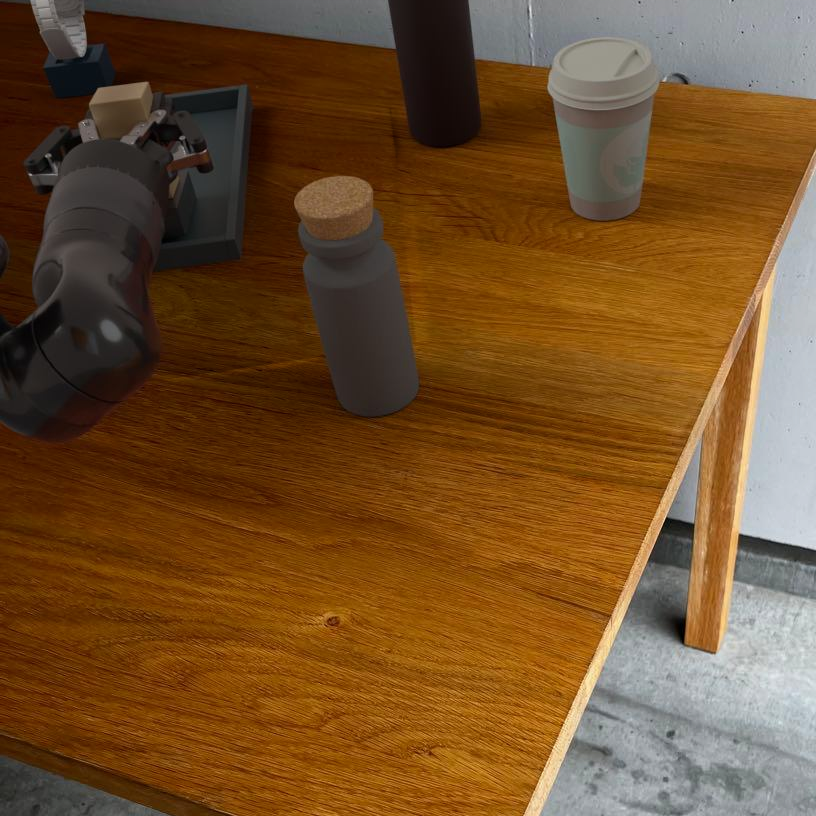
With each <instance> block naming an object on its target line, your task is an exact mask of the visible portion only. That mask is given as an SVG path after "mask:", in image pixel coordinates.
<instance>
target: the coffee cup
mask: <svg viewBox="0 0 816 816" xmlns="http://www.w3.org/2000/svg"><path fill="white" fill-rule="evenodd" d="M551 66H552V67H551V69H550V72H549V74H548V82H547V92H548V93H549V95H550V96H551V98H552V102H553V108H554V114H555V120H556V121H555V122H556V126H557V132H558V138H559V146H560V150H561V151H560V152H561V156H562V161H563V169H564V173H565V174H564V175H565V180H566V186H567V191H568V197H569V202H570V207H571V209H572V210H573V212H574V213H576V214H577V215H578V216H580V217H582V218H585V219H588V220H591V221H598V222H599V221H600V222H602V221H603V222H606V221H609V222H610V221H615V220H619V219H622V218H625V217H628V216H630V215H631V214H633V213H634V212H635V211H636V210H637V209H638V208H639V206H640V205H641V204H640V203H641V198H642V191H643V183H644V177H645V168H646V161H647V155H648V154H647V153H648V144H649V138H650V129H651V121H652V115H653V108H654V107H653V106H654V101H655V100H654V99H655V93H656V92H657V90H658V89H659V86H660V77H659V70H658V67H657V66H656V64H655V60H654V57H653V53H652V51H651V50H650V49H649V48H648V47H647V46H646V45H645V44H643V43H641V42H639V41H636V40H633V39H628V38H623V37H613V36H611V37H610V36H605V37H603V36H602V37H591V38H586V39H582V40H578V41H575V42H573V43H570V44H568V45H566V46H564V47H563V48H561V49H560V50H559V51H558V52H557V53H556V54H555V56H554V58H553V61H552V65H551Z"/></svg>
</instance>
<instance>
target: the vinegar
mask: <svg viewBox="0 0 816 816" xmlns="http://www.w3.org/2000/svg"><path fill="white" fill-rule="evenodd" d="M387 3H388V9H389V15H390V21H391V27H392V34H393V40H394V46H395V52H396V59H397V65H398V71H399V76H400V83H401V90H402V95H403V103H404V108H405V115H406V121H407V126H408V132H409V134H410V136H411V138H412V139H413V140H415V141H416V142H417V143H420V144H421V145H425V146H428V147H436V148H437V147H438V148H445V147H452V146H453V147H454V146H457V145H462V144H464V143H465V142H466V143H467V142H468V141H470V140H472V139H473V138H474V137H476V136H477V135H478V133H479V132H480V130H481V129H482V113H481V112H482V111H481V102H480V94H479V85H478V84H479V83H478V77H477V76H478V74H477V65H476V55H475V47H474V39H473V29H472V20H471V11H470V10H471V9H470V2H469V0H387Z"/></svg>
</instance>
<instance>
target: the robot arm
mask: <svg viewBox="0 0 816 816" xmlns="http://www.w3.org/2000/svg"><path fill="white" fill-rule="evenodd" d="M152 94H153V100H152V105H151V109H150V113H151V114H150V115H149V117H148V118H147V119H146V120H140V121H138V122H137V123H136V125H135V126H134V127H133V129H132V130H131V131H130V133H129V134H128V135H124V136H123V137H122V138H107V139H101V138H100V135H99V132H98V130H97V127H96V124H95V121H94V118H93V115H92V113H91V110H90V107H89V108H88V109H87V110H86V114H85V118H84V119H83V120H81V121H79V122H78V123H77V126H78V128H75V129H72V130H71V128H70V127H71V126H68V125H61V126H58V127H56V128H54V129H53V130H52V131H51V133H50V134H48V136H47V137H46V138H45V139H44V140H43V141H42V142H41V143H40V144H39V145H38V146H37V147H36V148H35V149H34V150H33V152H31V153H30V154H29V156H28V157H26V158H25V160H24V161H23V162H22V163H23V166H24V168H25V170H26V172H27V176H28V177H29V180H30V182H31V183H32V185H33V187H34V190H35V191H36V194H37V195H39V196H44V195H45V196H46V195H48V194H50V198H49V201H48V204H47V207H46V210H45V214H44V219H43V226H42V227H43V233H42V234H43V235H42V238H41V240H40V244H39V247H38V251H37V254H36V257H35V261H34V265H33V269H32V276H31V288H32V289H31V291H32V294H33V298H34V302H35V304H36V306H37V308H36V309H35V310H34V311H32V312H31V313H30V315H28V316H27V317H26V318H25V319H24V320H23V321H21V323H19V325H17V326H14V325H13V324H12V323H11V322H10V321H8V319H7V318H6V317H5V316H4V315H3V314H2V312H1V311H0V423H1V424H2V425H3V426H5V427H6V428H8V429H9V430H12V431H13V432H15V433H17V434H18V435H20V436H22V437H26V438H29V439H31V440H35V441H38V442H43V443H50V444H64V443H70V442H73V441H75V440H76V439H78V438H80V437H82V436H83V435H85V434H86V433H88V432H89V431H90V430H91V429H92V428H94V427H95V426H96V425H97V424H99V423H100V422H101V421H102V420H103V419H105V418H106V417H107V416H108V415H110V414H111V413H112V412H113V411H115V410H116V409H117V408H118V407H120V406H121V405H123V403H125V402H126V401H127V400H128V399H130V398H131V397H132V396H134V394H135V395H136V393H138V392H139V391H140V390H141V389H142V388H143V387H144V386H145V385H146V384H147V383H148V382H149V381H150V380H151V378H152V377H153V376H154V374H155V372H156V370H157V368H158V365H159V363H160V361H161V359H162V358H161V357H162V354H163V349H164V346H163V345H164V342H163V337H162V334H161V330H160V327H159V324H158V321H157V317H156V314H155V310H154V306H153V303H152V300H151V297H150V287H151V283H152V282H151V281H152V276H153V272H154V271H153V268H154V265H155V263H156V261H157V259H158V256H159V252H160V248H161V242H162V238H163V236H164V233H165V225H164V224H165V219H166V213H167V207H168V201H169V185H170V184H171V183H172V182H173V181H174V180H175V179H176V178H177V175H178V170H181V169H185V168H188V167H189V168H194V167H196V169H197V170H198V172H199V173H209V172H211V171H212V170H213V169H214V167H213V164H212V161H211V158H210V154H209V151H208V148H207V145H206V142H205V139H204V137H203V135H202V133H201V132H200V130H199V129H198V127H197V125H196V124H195V122H194V121H193V119H192V117H191V116H190V114H189V113H188V111H178V112H176V111H175V107H174V104H173V101H172V99H171V98H170V97H166V98H165V95H166V94H165V93H164V91H158V92H157V91H156V92H153V93H152ZM176 141H180V142H181V145H179V146H178V150H177V152H175V153H173V154H172V153H171V152H170V150H171V149H172V147H173V146H174V144H175V143H176ZM9 261H10V249H9V245H8V243H7V241H6V240H5V238H4V237H3V235H1V234H0V280H2V277H3V276H4V274H5V273H6V270H7V267H8V265H9Z"/></svg>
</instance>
